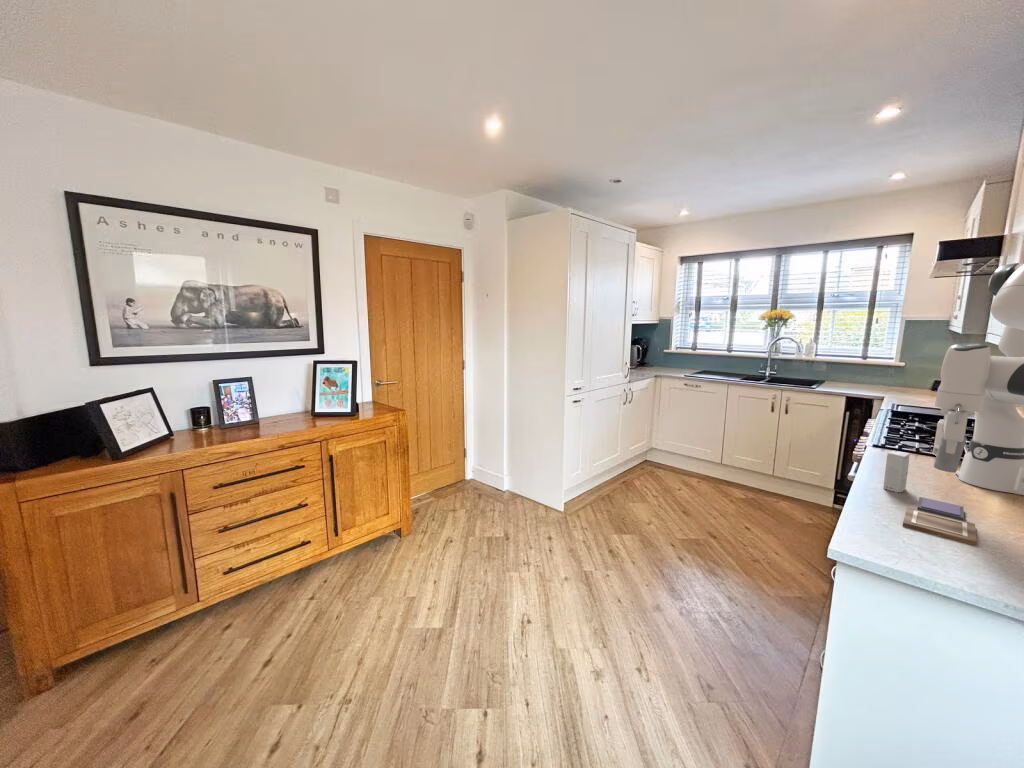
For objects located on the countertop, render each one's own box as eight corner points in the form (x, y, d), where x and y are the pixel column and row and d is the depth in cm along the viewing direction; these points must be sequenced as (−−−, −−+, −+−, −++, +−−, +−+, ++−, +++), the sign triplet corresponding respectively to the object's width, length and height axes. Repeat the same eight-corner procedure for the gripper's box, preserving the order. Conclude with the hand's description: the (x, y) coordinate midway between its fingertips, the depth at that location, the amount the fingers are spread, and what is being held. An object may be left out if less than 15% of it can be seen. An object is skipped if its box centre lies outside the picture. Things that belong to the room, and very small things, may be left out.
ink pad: (918, 500, 123) (919, 495, 123) (962, 510, 117) (963, 505, 116) (916, 510, 116) (917, 506, 116) (963, 522, 110) (964, 516, 110)
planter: (932, 468, 115) (942, 433, 113) (934, 465, 118) (944, 431, 116) (955, 474, 112) (966, 438, 110) (956, 470, 115) (967, 436, 112)
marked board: (906, 510, 117) (907, 506, 116) (974, 527, 107) (975, 523, 107) (902, 526, 108) (903, 521, 108) (976, 545, 98) (976, 541, 98)
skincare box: (900, 493, 128) (905, 456, 126) (881, 488, 132) (887, 453, 130) (906, 489, 132) (911, 453, 130) (888, 484, 135) (893, 449, 134)
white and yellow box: (959, 459, 159) (965, 422, 157) (943, 459, 160) (949, 422, 157) (943, 454, 165) (949, 419, 163) (928, 454, 166) (933, 419, 163)
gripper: (977, 409, 102) (967, 462, 104) (974, 399, 116) (966, 445, 118) (941, 405, 107) (932, 455, 109) (942, 396, 121) (935, 441, 123)
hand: (950, 450), depth 114 cm, fingers closed on planter, 4 cm apart
